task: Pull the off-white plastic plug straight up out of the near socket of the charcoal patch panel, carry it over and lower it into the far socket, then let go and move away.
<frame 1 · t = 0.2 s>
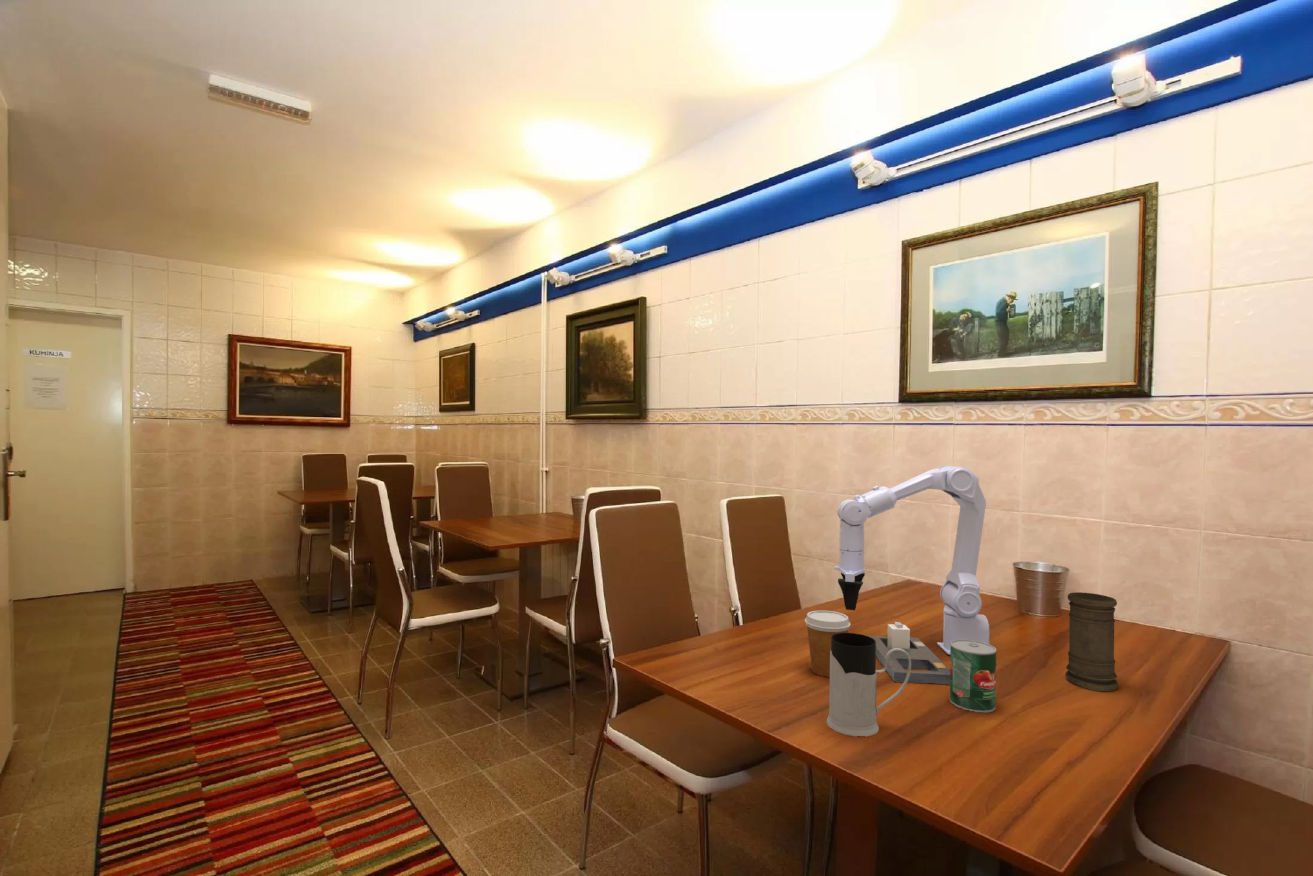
hand: (851, 605, 150), 10 cm above the table, tool pointing down, fingers open, 7 cm apart
plug: (898, 652, 147), resting in patch panel
disposable coffee cup: (826, 672, 134), on the table
patch panel: (907, 662, 140), on the table
container: (1091, 684, 129), on the table
grey beer mug: (868, 726, 109), on the table
canned tomato: (972, 704, 118), on the table
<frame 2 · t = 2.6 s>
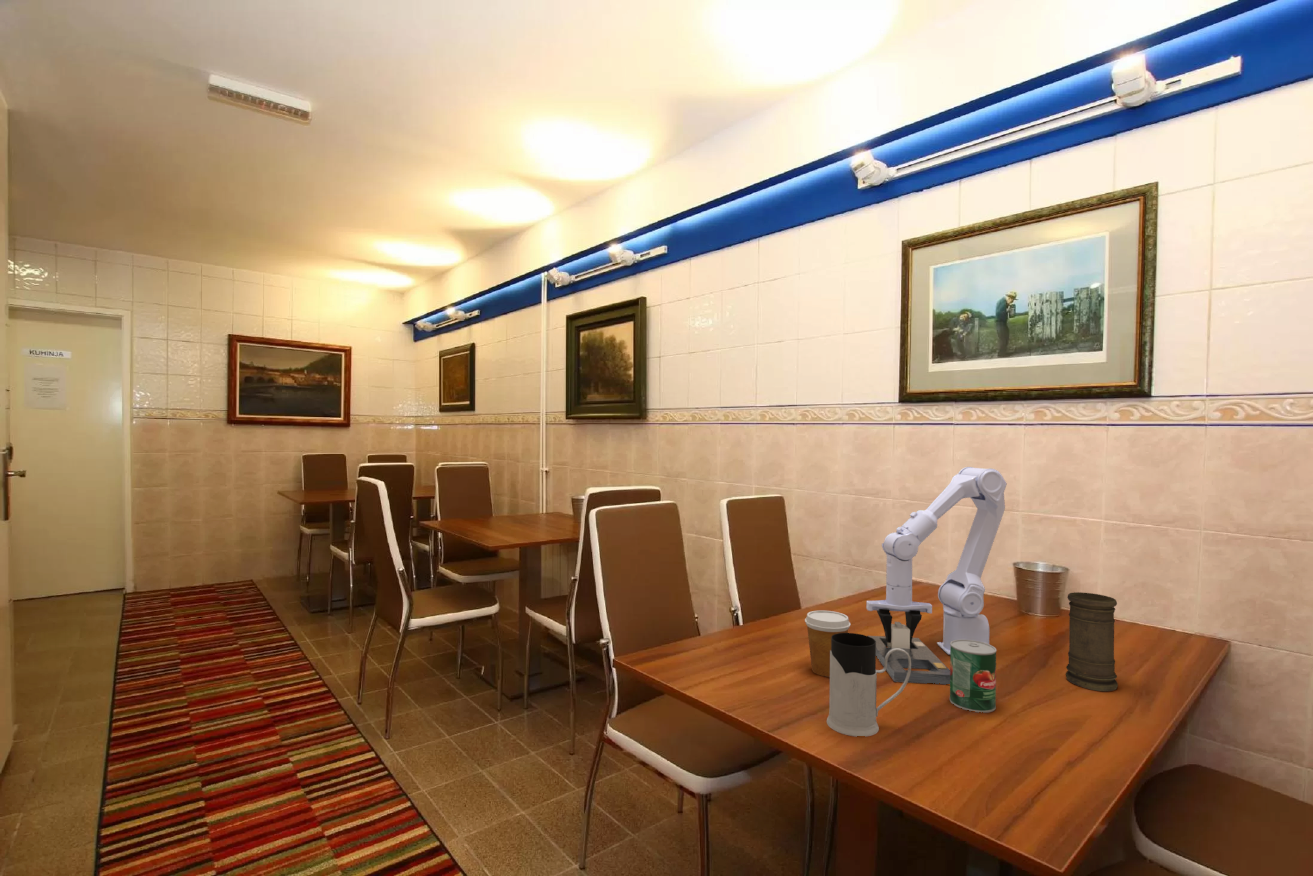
hand: (898, 641, 147), 2 cm above the table, tool pointing down, fingers closed on plug, 4 cm apart
plug: (898, 652, 147), resting in patch panel, touching gripper
everything else where it was.
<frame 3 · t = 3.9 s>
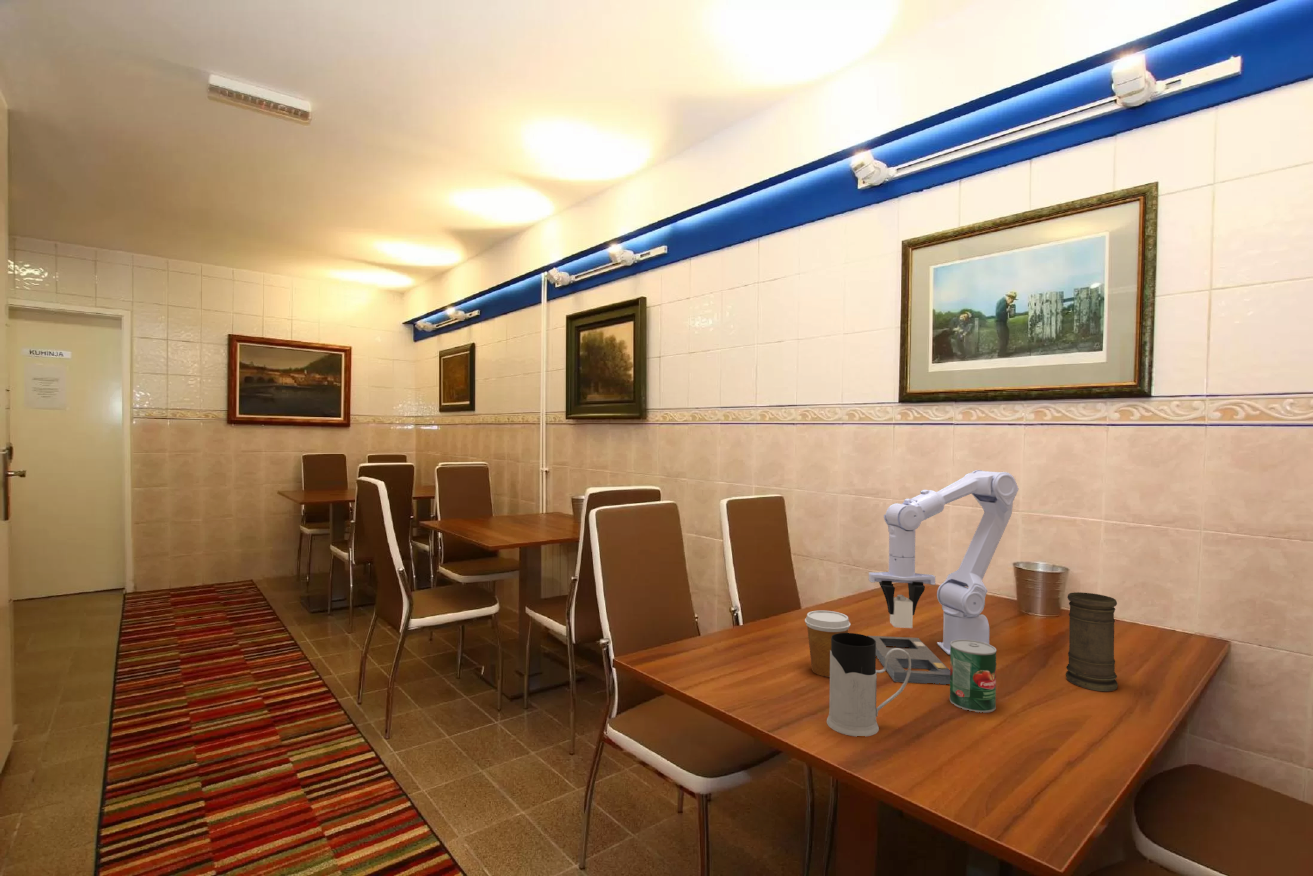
hand: (901, 613, 145), 10 cm above the table, tool pointing down, fingers closed on plug, 4 cm apart
plug: (900, 625, 145), point 7 cm above the table, touching gripper
everything else where it was.
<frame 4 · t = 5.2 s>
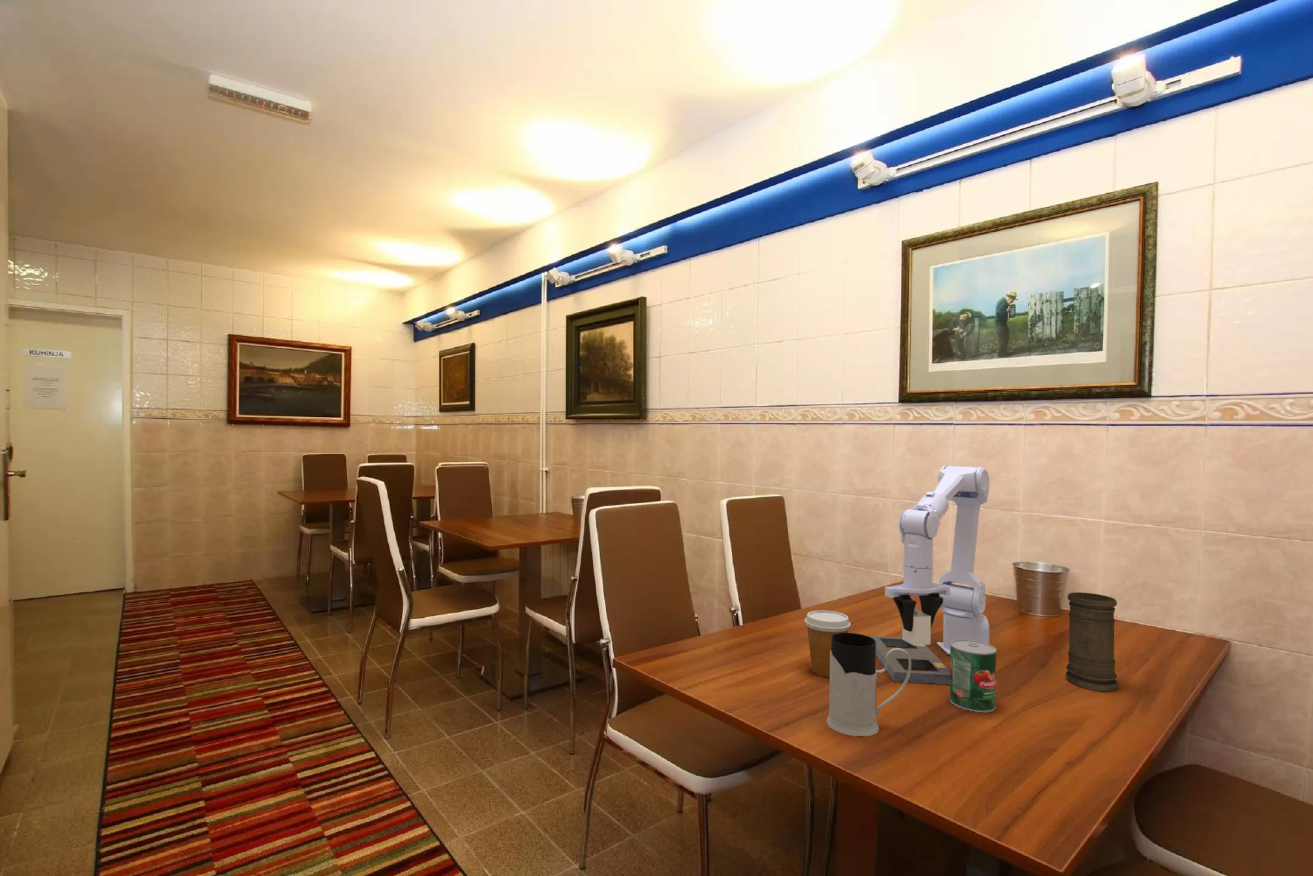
hand: (917, 629, 133), 10 cm above the table, tool pointing down, fingers closed on plug, 4 cm apart
plug: (916, 641, 133), point 7 cm above the table, touching gripper
everything else where it was.
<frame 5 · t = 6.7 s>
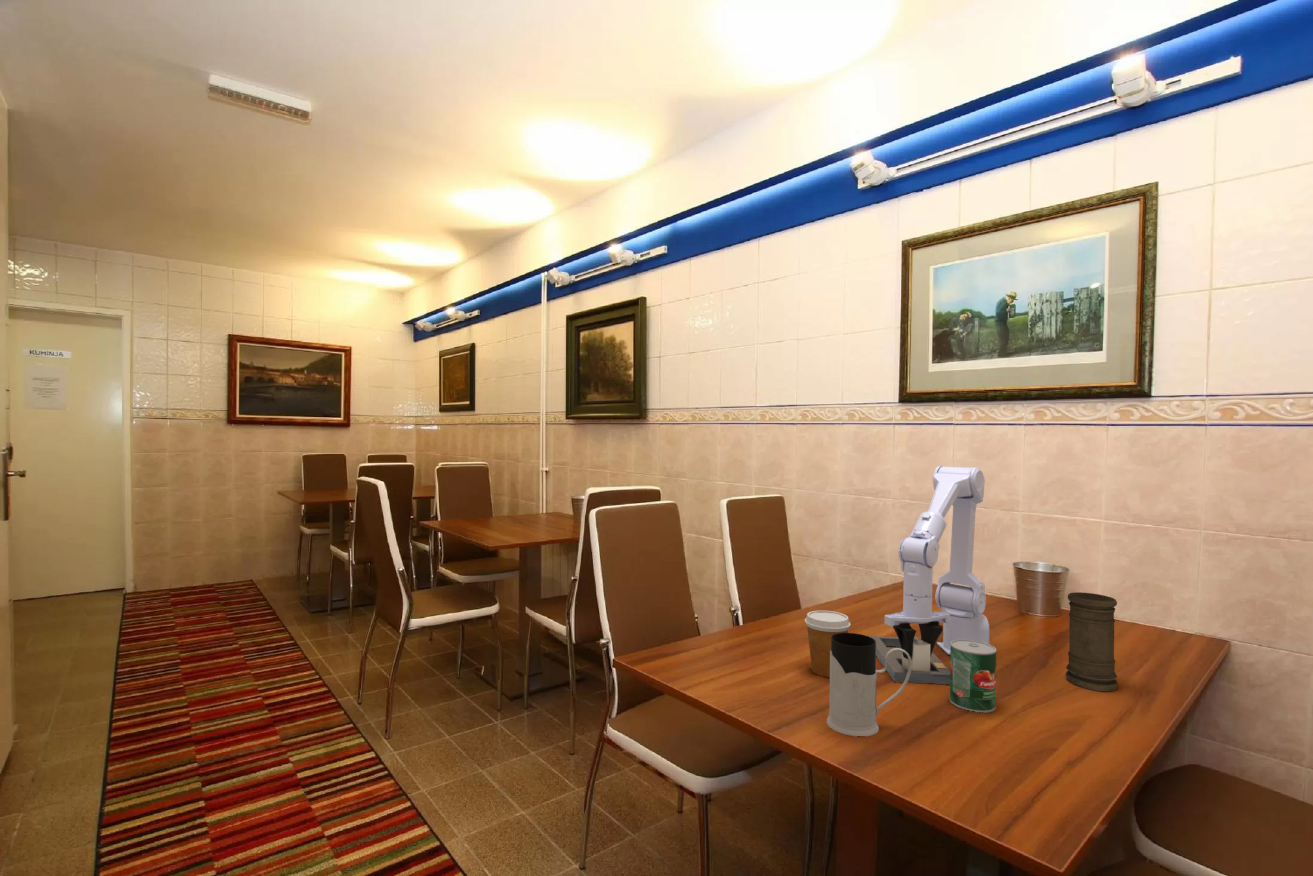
hand: (916, 657, 133), 4 cm above the table, tool pointing down, fingers closed on plug, 4 cm apart
plug: (915, 670, 133), point 1 cm above the table, touching gripper
everything else where it was.
when the fingers open (3 cm above the table, at t = 8.0 s): plug stays where it is, resting in patch panel.
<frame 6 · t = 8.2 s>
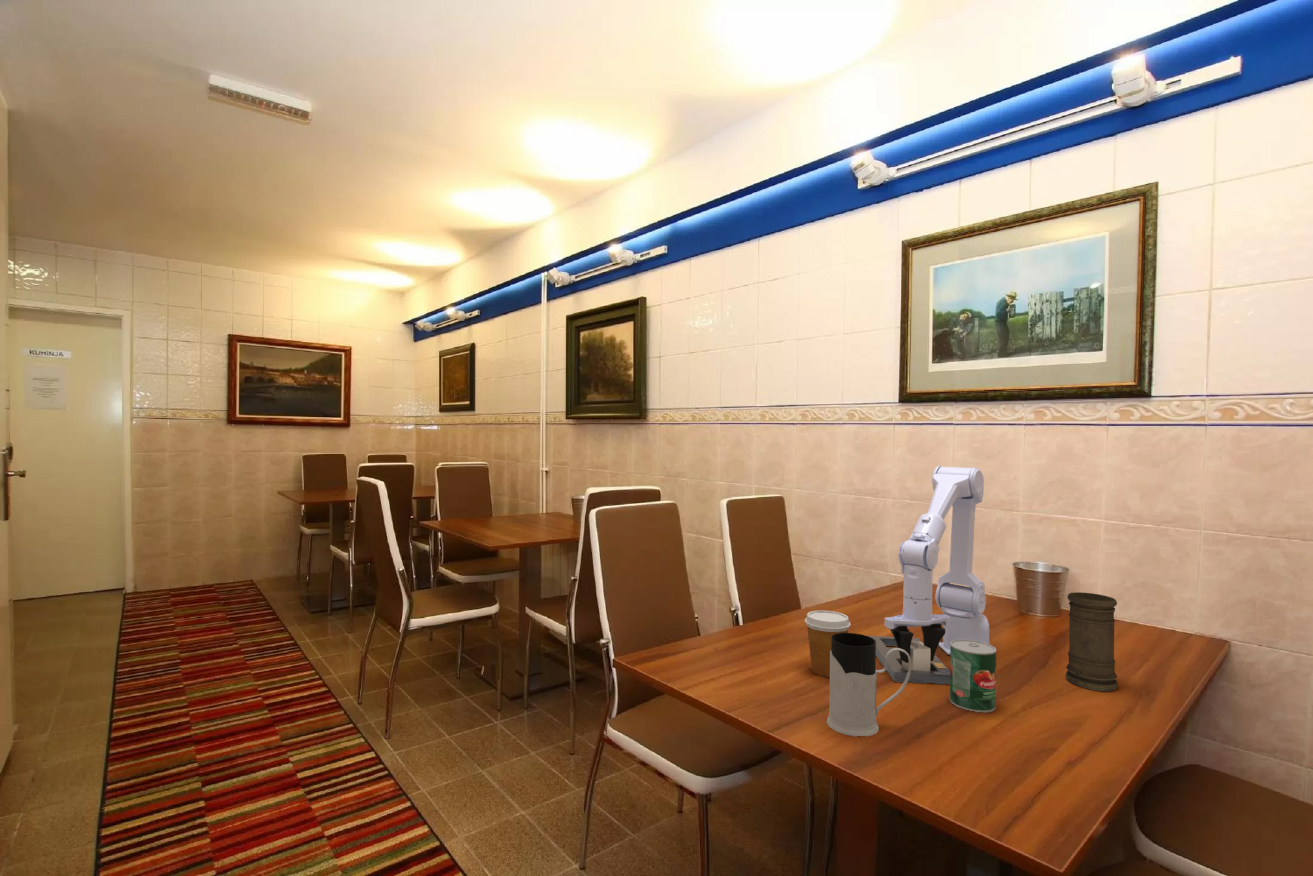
hand: (916, 660, 133), 3 cm above the table, tool pointing down, fingers open, 5 cm apart
plug: (915, 674, 133), resting in patch panel
everything else where it was.
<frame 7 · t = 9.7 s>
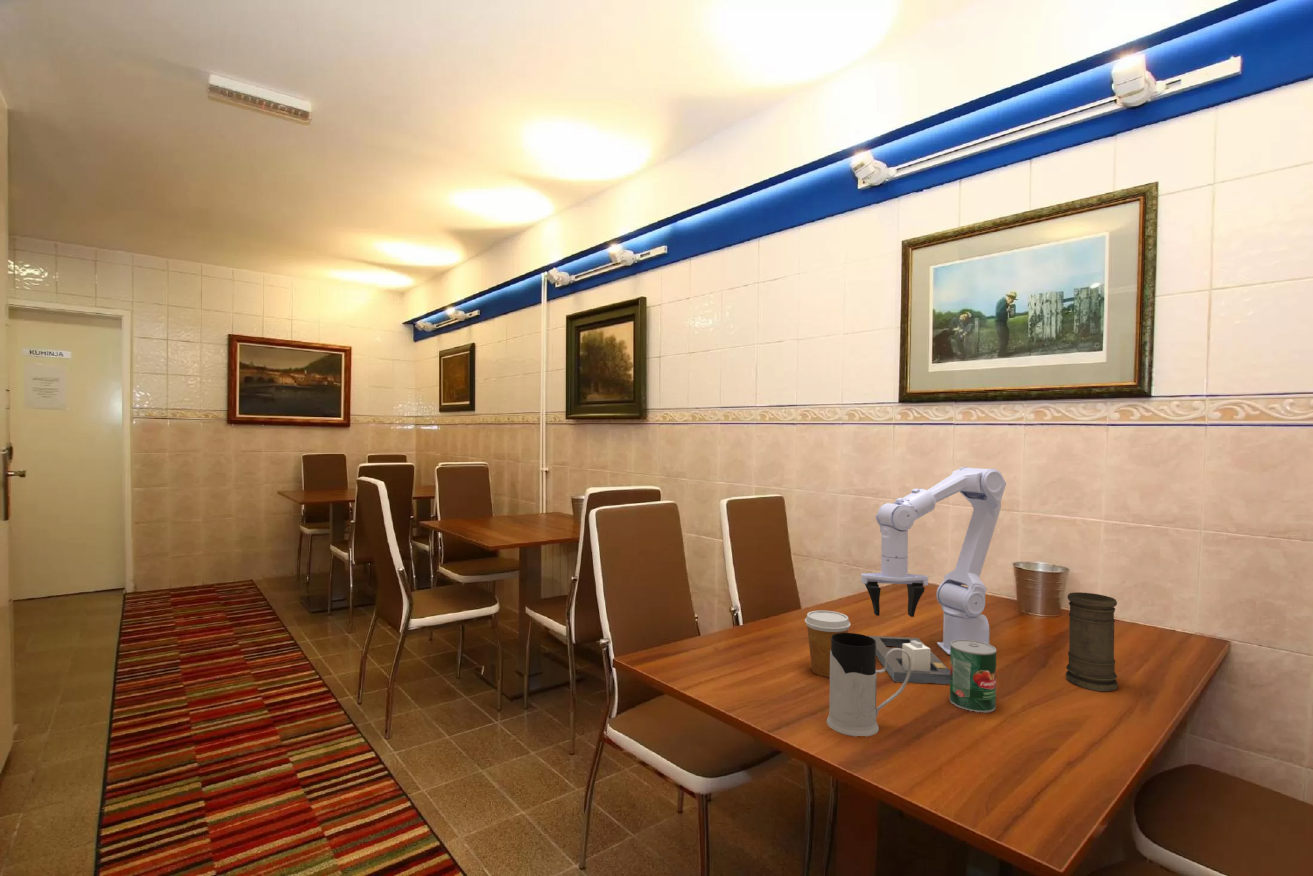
hand: (893, 615, 143), 10 cm above the table, tool pointing down, fingers open, 7 cm apart
nothing on the table moved.
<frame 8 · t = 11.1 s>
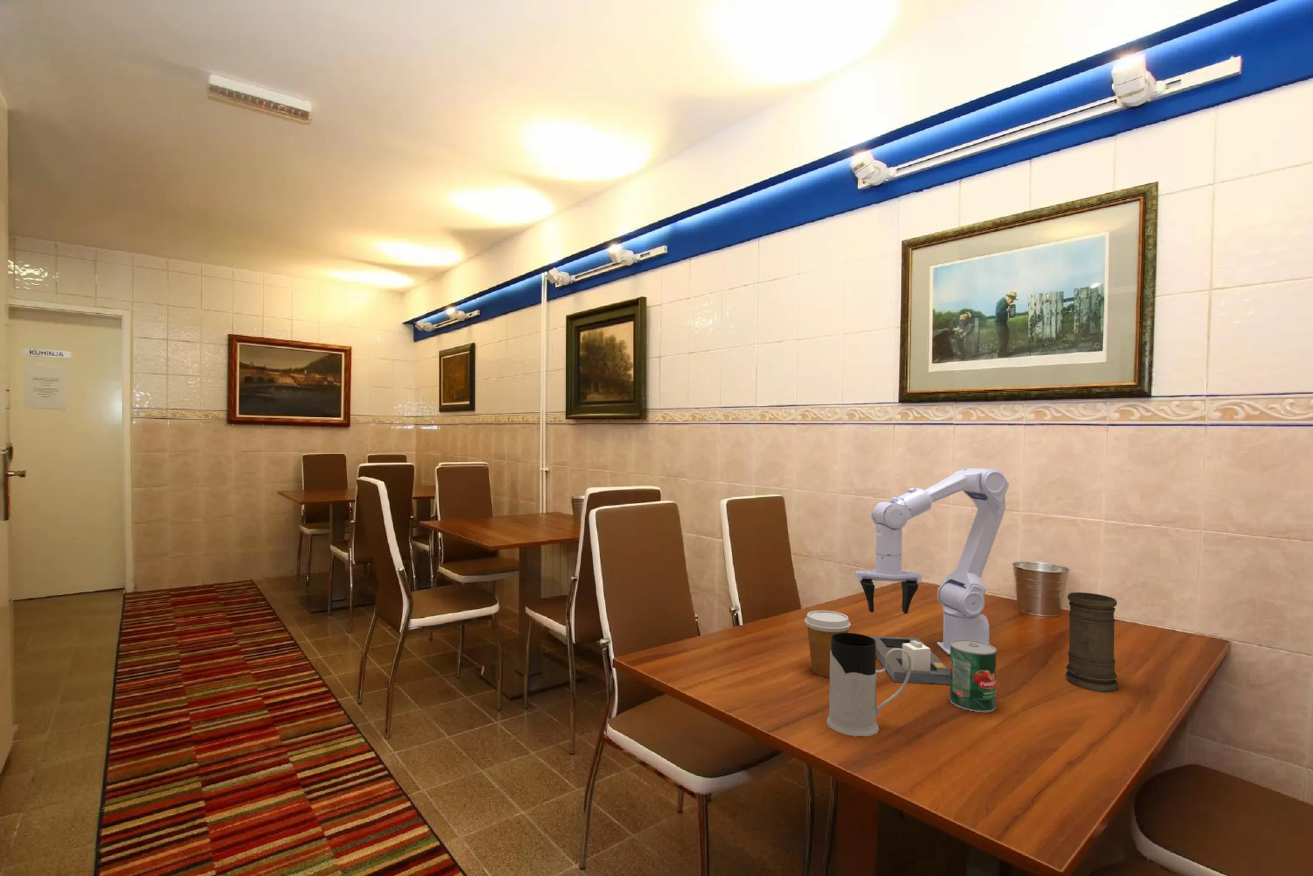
hand: (887, 612, 145), 10 cm above the table, tool pointing down, fingers open, 7 cm apart
nothing on the table moved.
at the end: plug 0.3 cm from the target spot on the patch panel, point 0.0 cm above the patch panel's base; plug tilted 0°; the gripper is holding nothing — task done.
